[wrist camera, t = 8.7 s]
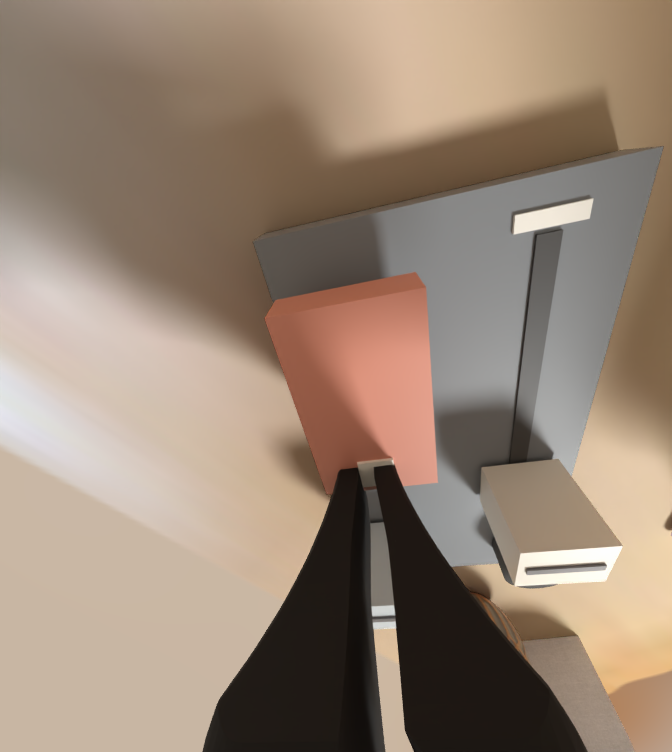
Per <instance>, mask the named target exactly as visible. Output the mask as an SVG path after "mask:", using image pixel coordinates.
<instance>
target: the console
mask: <svg viewBox="0 0 672 752" xmlns="http://www.w3.org/2000/svg"><path fill="white" fill-rule="evenodd" d="M663 147H664V146H660V147H649V148H639V149H628V150H619V151H615V152H611V153H606V154H602V155H598V156H594V157H589V158H585V159H581V160H577V161H572V162H568V163H564V164H560V165H555V166H551V167H547V168H542V169H538V170H534V171H530V172H525V173H521V174H517V175H513V176H508V177H504V178H500V179H496V180H491V181H487V182H483V183H478V184H474V185H470V186H466V187H461V188H457V189H453V190H449V191H444V192H440V193H436V194H432V195H427V196H423V197H419V198H414V199H410V200H406V201H402V202H397V203H393V204H389V205H385V206H380V207H376V208H372V209H368V210H363V211H359V212H355V213H350V214H346V215H342V216H338V217H333V218H329V219H325V220H321V221H316V222H312V223H308V224H304V225H299V226H295V227H291V228H286V229H282V230H278V231H274V232H269V233H265V234H263V235H262V236H260V237H259V238H257V239H256V240H254V241H253V244H254V247H255V250H256V253H257V256H258V259H259V262H260V265H261V268H262V271H263V274H264V277H265V280H266V283H267V286H268V289H269V292H270V295H271V298H272V301H273V303H274V302H275V300H278V299H283V298H288V297H293V296H298V295H303V294H308V293H313V292H318V291H323V290H328V289H333V288H338V287H343V286H348V285H353V284H358V283H363V282H368V281H373V280H378V279H383V278H388V277H392V276H397V275H402V274H407V273H412V272H416V273H417V275H418V276H419V278H420V279H421V280H422V282H423V283H424V285H425V286H426V293H427V309H428V326H429V343H430V359H431V376H432V393H433V409H434V426H435V443H436V459H437V476H438V483H431V484H421V485H412V486H403V487H404V489H405V491H406V494H407V496H408V498H409V499H410V501H411V503H412V505H413V507H414V509H415V511H416V512H417V514H418V516H419V518H420V520H421V521H422V523H423V525H424V526H425V528H426V530H427V531H428V533H429V534H430V536H431V538H432V539H433V541H434V542H435V544H436V545H437V547H438V548H439V550H440V551H441V553H442V554H443V556H444V557H445V559H446V560H447V562H448V563H449V565H450V566H451V567H454V566H469V565H483V564H498V560H497V558H496V555H495V552H494V550H493V547H492V540H493V538H494V535H493V532H492V530H491V527H490V525H489V522H488V520H487V517H486V515H485V512H484V510H483V507H482V505H481V502H480V486H481V467H489V466H498V465H507V464H516V463H525V462H534V461H543V460H552V459H559V460H560V462H561V463H562V464H563V466H564V467H565V468H566V470H567V471H568V473H569V474H570V475H571V476H572V473H573V469H574V466H575V462H576V458H577V455H578V451H579V448H580V444H581V441H582V437H583V433H584V430H585V426H586V423H587V419H588V416H589V412H590V408H591V405H592V401H593V398H594V394H595V390H596V387H597V383H598V380H599V376H600V373H601V369H602V365H603V362H604V358H605V355H606V351H607V348H608V344H609V340H610V337H611V333H612V330H613V326H614V322H615V319H616V315H617V312H618V308H619V305H620V301H621V297H622V294H623V290H624V287H625V283H626V280H627V276H628V272H629V269H630V265H631V262H632V258H633V255H634V251H635V247H636V244H637V240H638V237H639V233H640V229H641V226H642V222H643V219H644V215H645V212H646V208H647V204H648V201H649V197H650V194H651V190H652V187H653V183H654V179H655V176H656V172H657V169H658V165H659V161H660V158H661V154H662V151H663ZM365 491H366V494H367V498H368V507H369V517H370V523H380V522H383V517H382V512H381V507H380V503H379V498H378V493H377V489H374V490H365Z"/></svg>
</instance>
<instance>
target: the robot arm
mask: <svg viewBox="0 0 672 752" xmlns="http://www.w3.org/2000/svg"><path fill="white" fill-rule="evenodd" d="M374 479H375V484H376V488H377V493H378V498H379V503H380V507H381V512H382V517H383V522H384V526H385V531H386V537H387V543H388V550H389V559H390V569H391V579H392V589H393V599H394V609H395V620H396V631H397V642H398V653H399V664H400V676H401V688H402V700H403V712H404V725H405V731H406V734H407V736H408V739H409V741H410V743H411V746H412V748H413V750H414V752H588V751H587V749H586V747H585V745H584V743H583V741H582V739H581V737H580V735H579V733H578V731H577V730H576V728H575V726H574V724H573V723H572V721H571V719H570V718H569V716H568V715H567V713H566V711H565V710H564V708H563V707H562V705H561V704H560V702H559V701H558V699H557V698H556V696H555V695H554V693H553V691H552V690H551V688H550V687H549V685H548V684H547V683H546V682H545V681H544V680H543V678H542V677H541V676H540V675H539V674H538V673H537V672H536V671H535V670H534V668H533V667H532V666H531V665H530V664H529V663H528V662H527V661H526V659H525V658H524V657H523V656H522V655H521V654H520V653H519V651H518V650H517V649H516V648H515V647H514V646H513V645H512V643H511V642H510V641H509V640H508V639H507V637H506V636H505V635H504V634H503V633H502V631H501V630H500V629H499V628H498V627H497V626H496V624H495V623H494V622H493V621H492V620H491V618H490V617H489V616H488V614H487V613H486V612H485V611H484V609H483V608H482V607H481V606H480V604H479V603H478V602H477V601H476V599H475V598H474V597H473V595H472V594H471V593H470V592H469V590H468V589H467V588H466V587H465V585H464V584H463V582H462V581H461V580H460V578H459V577H458V576H457V574H456V573H455V572H454V570H453V569H452V567H451V566H450V565H449V563H448V562H447V560H446V559H445V557H444V556H443V554H442V553H441V551H440V550H439V548H438V547H437V545H436V544H435V542H434V541H433V539H432V538H431V536H430V534H429V533H428V531H427V530H426V528H425V526H424V525H423V523H422V521H421V520H420V518H419V516H418V514H417V512H416V511H415V509H414V507H413V505H412V503H411V501H410V499H409V498H408V496H407V494H406V491H405V489H404V487H403V485H402V483H401V480H400V478H399V475H398V473H397V470H396V467H395V465H385V466H378V467H374ZM671 536H672V533H671ZM203 752H385V745H384V736H383V726H382V716H381V706H380V697H379V687H378V676H377V665H376V654H375V643H374V631H373V619H372V605H371V527H370V517H369V507H368V498H367V494H366V491H365V490H364V488H363V485H362V481H361V477H360V474H359V470H358V467H357V468H349V469H341V470H340V471H339V472H338V475H337V479H336V483H335V486H334V490H333V493H332V496H331V499H330V502H329V505H328V508H327V511H326V514H325V516H324V519H323V522H322V524H321V527H320V529H319V532H318V534H317V536H316V539H315V541H314V544H313V546H312V548H311V550H310V553H309V555H308V557H307V559H306V561H305V563H304V565H303V567H302V569H301V571H300V573H299V575H298V577H297V579H296V581H295V583H294V585H293V586H292V588H291V590H290V592H289V594H288V596H287V597H286V599H285V601H284V603H283V604H282V606H281V608H280V610H279V611H278V613H277V615H276V616H275V618H274V620H273V621H272V623H271V624H270V626H269V627H268V629H267V630H266V632H265V634H264V635H263V637H262V638H261V640H260V642H259V643H258V645H257V646H256V648H255V649H254V651H253V652H252V654H251V655H250V657H249V658H248V660H247V661H246V663H245V664H244V665H243V667H242V668H241V669H240V671H239V672H238V674H237V675H236V677H235V678H234V679H233V681H232V682H231V683H230V685H229V686H228V688H227V689H226V691H225V692H224V693H223V695H222V696H221V698H220V699H219V701H218V703H217V706H216V709H215V712H214V715H213V718H212V721H211V724H210V727H209V730H208V733H207V736H206V739H205V744H204V748H203Z"/></svg>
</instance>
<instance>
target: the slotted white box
mask: <svg viewBox="0 0 672 752" xmlns="http://www.w3.org/2000/svg"><path fill="white" fill-rule="evenodd" d="M370 527H371V605H372V619H373V629H393V628H396V620H395V609H394V599H393V589H392V579H391V569H390V559H389V550H388V543H387V537H386V531H385V526H384V522H380V523H370Z"/></svg>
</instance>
